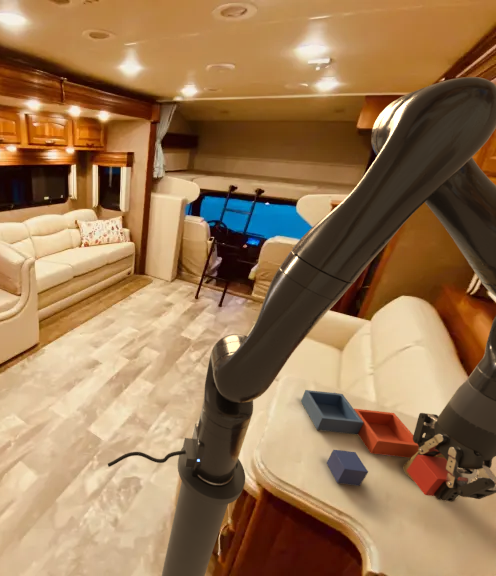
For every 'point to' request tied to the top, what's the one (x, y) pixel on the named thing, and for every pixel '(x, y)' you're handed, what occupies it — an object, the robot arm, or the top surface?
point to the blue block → (346, 467)
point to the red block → (428, 473)
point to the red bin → (386, 434)
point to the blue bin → (331, 412)
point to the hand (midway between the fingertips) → (429, 483)
